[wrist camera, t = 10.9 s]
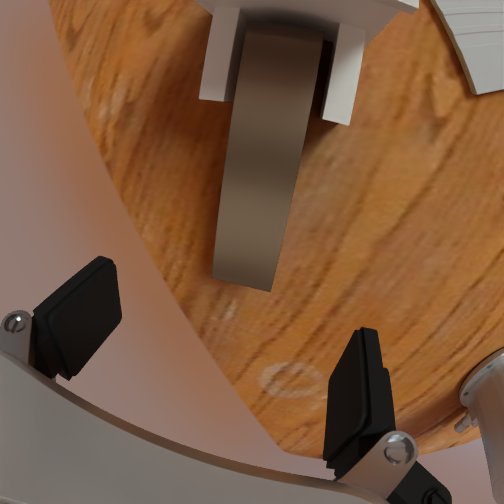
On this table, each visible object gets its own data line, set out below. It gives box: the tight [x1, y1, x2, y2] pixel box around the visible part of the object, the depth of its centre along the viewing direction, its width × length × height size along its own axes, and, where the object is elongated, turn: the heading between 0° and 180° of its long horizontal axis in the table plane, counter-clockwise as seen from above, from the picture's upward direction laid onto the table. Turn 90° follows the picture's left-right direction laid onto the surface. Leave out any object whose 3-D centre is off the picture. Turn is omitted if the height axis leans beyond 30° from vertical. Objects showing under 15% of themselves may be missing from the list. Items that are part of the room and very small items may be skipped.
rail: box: [212, 21, 325, 292], centre depth 18 cm, size 16×4×6 cm, turn 171°
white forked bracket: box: [194, 0, 419, 126], centre depth 11 cm, size 10×10×12 cm
